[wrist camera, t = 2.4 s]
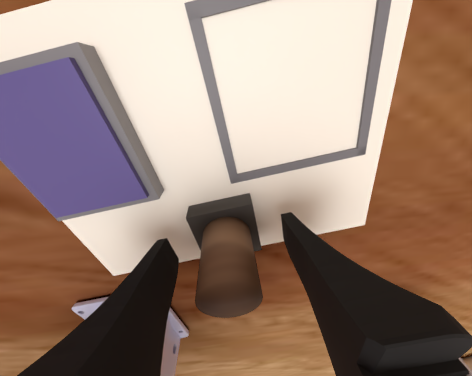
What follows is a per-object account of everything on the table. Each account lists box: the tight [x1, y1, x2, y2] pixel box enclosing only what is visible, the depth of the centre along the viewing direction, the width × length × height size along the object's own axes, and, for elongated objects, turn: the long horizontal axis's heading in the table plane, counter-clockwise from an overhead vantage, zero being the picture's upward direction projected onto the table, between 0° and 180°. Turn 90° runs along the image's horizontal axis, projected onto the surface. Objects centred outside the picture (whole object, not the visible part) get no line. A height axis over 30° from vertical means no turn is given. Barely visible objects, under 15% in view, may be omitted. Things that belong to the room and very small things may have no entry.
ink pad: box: [0, 42, 164, 221], centre depth 9 cm, size 7×6×1 cm
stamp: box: [186, 193, 263, 318], centre depth 10 cm, size 4×4×5 cm
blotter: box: [0, 0, 413, 276], centre depth 10 cm, size 15×20×1 cm
